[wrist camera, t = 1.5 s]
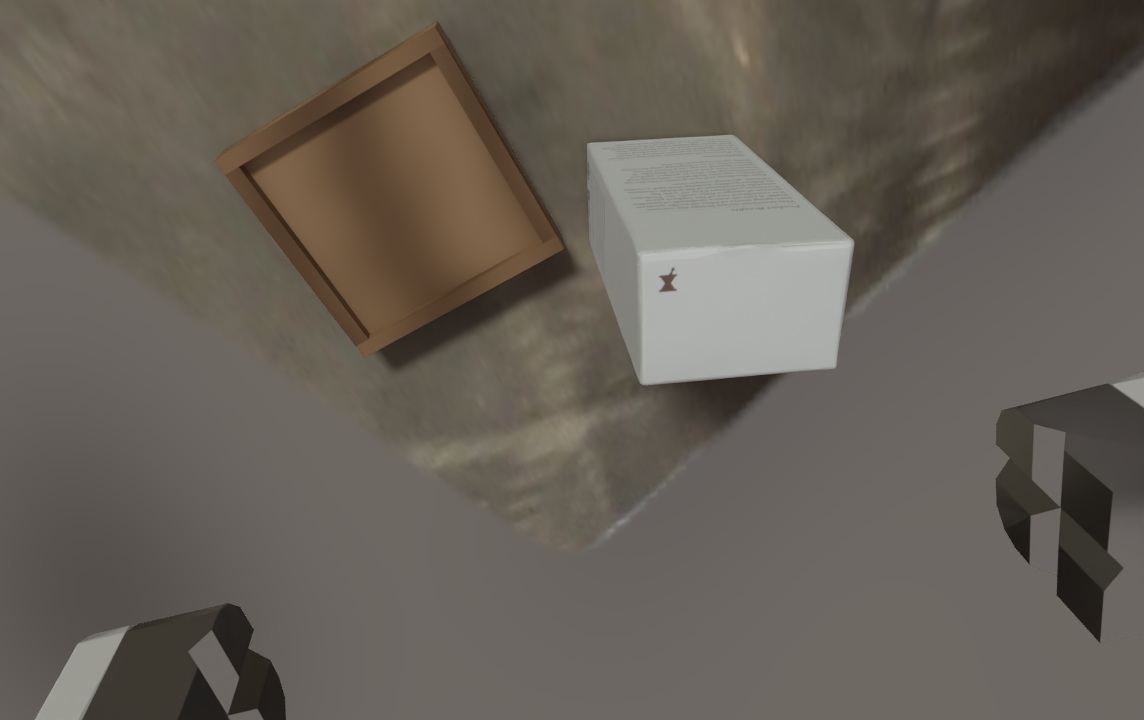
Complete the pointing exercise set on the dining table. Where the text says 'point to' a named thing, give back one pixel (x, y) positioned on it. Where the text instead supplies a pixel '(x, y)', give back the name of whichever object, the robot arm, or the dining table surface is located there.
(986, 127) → the dining table surface
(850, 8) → the dining table surface
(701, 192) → the skincare box
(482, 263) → the walnut tray
